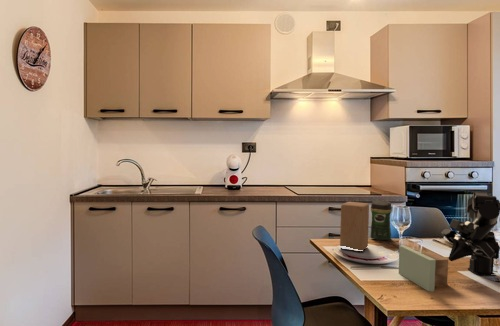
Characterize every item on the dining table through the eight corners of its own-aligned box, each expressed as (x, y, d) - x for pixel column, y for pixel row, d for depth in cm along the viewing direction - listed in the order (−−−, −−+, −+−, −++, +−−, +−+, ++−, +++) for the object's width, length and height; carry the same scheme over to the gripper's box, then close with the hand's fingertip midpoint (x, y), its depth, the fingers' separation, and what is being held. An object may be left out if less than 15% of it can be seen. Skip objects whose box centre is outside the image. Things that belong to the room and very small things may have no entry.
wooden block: (362, 253, 149) (363, 206, 148) (339, 249, 154) (340, 204, 153) (368, 247, 157) (369, 203, 156) (346, 244, 163) (347, 201, 162)
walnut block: (430, 275, 125) (431, 252, 124) (447, 284, 117) (448, 259, 116) (410, 277, 123) (411, 253, 123) (425, 286, 115) (426, 260, 115)
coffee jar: (391, 238, 174) (393, 200, 173) (389, 242, 167) (391, 203, 166) (371, 235, 179) (372, 199, 178) (368, 239, 172) (369, 201, 171)
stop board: (403, 272, 127) (404, 245, 126) (434, 291, 111) (435, 259, 111) (398, 273, 127) (399, 245, 126) (428, 291, 111) (429, 260, 110)
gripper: (447, 206, 130) (418, 237, 129) (487, 217, 112) (454, 252, 111) (465, 227, 132) (437, 257, 131) (508, 241, 114) (476, 276, 113)
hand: (449, 260), depth 121 cm, fingers closed
